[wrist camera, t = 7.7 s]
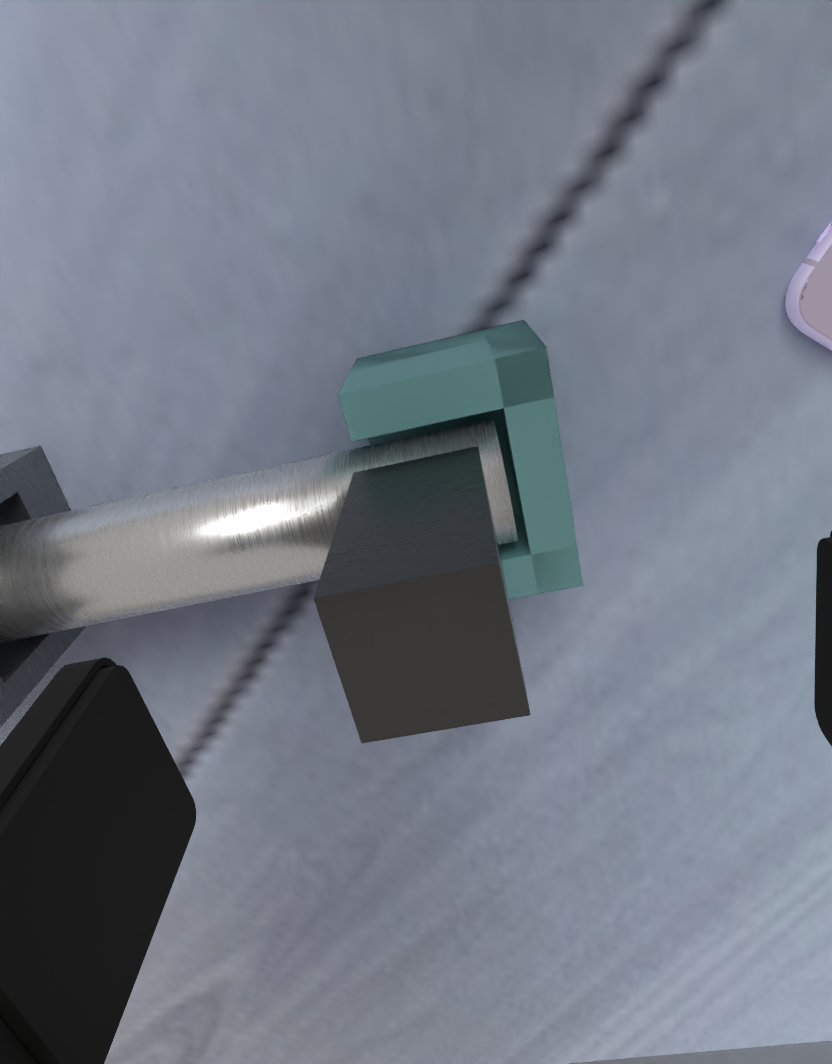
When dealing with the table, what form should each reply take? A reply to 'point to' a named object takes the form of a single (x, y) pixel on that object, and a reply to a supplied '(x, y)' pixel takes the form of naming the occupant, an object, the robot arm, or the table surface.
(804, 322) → the mobile phone
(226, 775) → the table surface
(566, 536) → the socket
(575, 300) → the table surface
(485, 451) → the grey l-shaped bar
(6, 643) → the sleeve
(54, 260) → the table surface
